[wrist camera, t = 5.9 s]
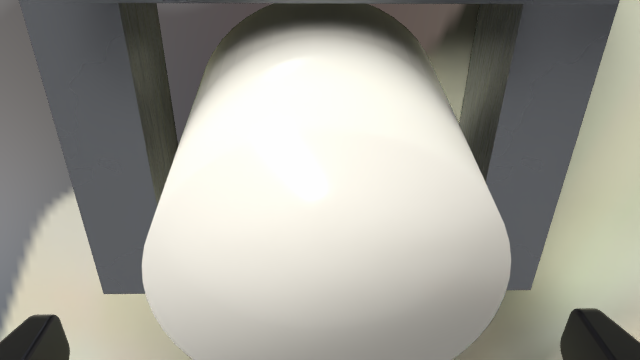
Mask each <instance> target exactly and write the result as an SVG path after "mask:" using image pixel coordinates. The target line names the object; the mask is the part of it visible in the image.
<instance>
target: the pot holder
mask: <svg viewBox="0 0 640 360" xmlns="http://www.w3.org/2000/svg"><path fill="white" fill-rule="evenodd" d="M19 3H20V6H21V9H22V13H23V16H24V20H25V23H26V26H27V30H28V34H29V37H30V41H31V44H32V47H33V51H34V54H35V58H36V61H37V65H38V68H39V72H40V75H41V79H42V82H43V86H44V89H45V92H46V96H47V99H48V103H49V106H50V110H51V113H52V117H53V120H54V124H55V127H56V130H57V134H58V137H59V141H60V144H61V148H62V151H63V155H64V158H65V162H66V165H67V168H68V172H69V175H70V179H71V182H72V186H73V189H74V193H75V196H76V200H77V203H78V207H79V210H80V213H81V217H82V220H83V224H84V227H85V231H86V234H87V238H88V241H89V245H90V248H91V251H92V255H93V258H94V262H95V265H96V269H97V272H98V276H99V279H100V283H101V286H102V290H103V293H104V294H145V290H144V285H143V279H142V258H143V251H144V245H145V242H146V239H147V235H148V232H149V229H150V226H151V223H152V221H153V218H154V215H155V212H156V209H157V206H158V203H159V200H160V198H161V195H162V192H163V189H164V186H165V183H166V180H167V177H168V175H169V172H170V169H171V166H172V163H173V160H174V157H175V154H176V152H177V149H178V142H177V135H176V128H175V122H174V115H173V109H172V102H171V96H170V89H169V83H168V77H167V70H166V63H165V57H164V50H163V44H162V37H161V31H160V24H159V18H158V12H157V5H156V3H367V4H375V3H378V4H379V3H380V4H381V3H382V4H391V3H392V4H396V3H397V4H408V3H409V4H480V6H479V12H478V17H477V23H476V29H475V35H474V41H473V47H472V53H471V59H470V65H469V71H468V77H467V82H466V88H465V94H464V100H463V106H462V112H461V118H460V124H459V125H460V127H461V130H462V132H463V134H464V136H465V138H466V141H467V143H468V145H469V147H470V149H471V152H472V154H473V156H474V158H475V160H476V163H477V165H478V167H479V169H480V171H481V174H482V176H483V178H484V180H485V182H486V185H487V187H488V189H489V191H490V193H491V196H492V198H493V200H494V202H495V204H496V207H497V209H498V211H499V213H500V215H501V218H502V220H503V222H504V224H505V228H506V231H507V235H508V238H509V242H510V252H511V268H510V278H509V282H508V286H507V289H506V290H531V287H532V283H533V280H534V277H535V274H536V270H537V267H538V264H539V261H540V257H541V254H542V251H543V247H544V244H545V241H546V238H547V234H548V231H549V228H550V225H551V221H552V218H553V215H554V212H555V208H556V205H557V202H558V199H559V195H560V192H561V189H562V186H563V182H564V179H565V176H566V173H567V169H568V166H569V163H570V160H571V156H572V153H573V150H574V147H575V143H576V140H577V137H578V134H579V130H580V127H581V124H582V121H583V117H584V114H585V111H586V108H587V104H588V101H589V98H590V94H591V91H592V88H593V85H594V81H595V78H596V75H597V72H598V68H599V65H600V62H601V59H602V55H603V52H604V49H605V46H606V42H607V39H608V36H609V33H610V29H611V26H612V23H613V20H614V16H615V13H616V10H617V7H618V3H619V0H19Z"/></svg>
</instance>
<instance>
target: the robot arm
mask: <svg viewBox="0 0 640 360" xmlns="http://www.w3.org/2000/svg"><path fill="white" fill-rule="evenodd" d="M560 348H561V354H562V357H563V360H640V342H638V341H637V340H636V339H635V338H634V337H632V336H631V335H630V334H629V333H627V332H626V331H625V330H624V329H622V328H621V327H620V326H619V325H617V324H616V323H615V322H614V321H613V320H611V319H610V318H609V317H608V316H606V315H605V314H604V313H603V312H601V311H600V310H598V309H593V308H586V309H574V310H573V311H572V312H571V314H570V316H569V319H568V321H567V324H566V327H565V329H564V332H563V335H562V337H561V342H560ZM69 355H70V348H69V343H68V341H67V338H66V335H65V332H64V330H63V327H62V324H61V321H60V319H59V318H58V317H57V316H56V315H33V316H31V317H29V318H28V319H26V320H25V321H24V322H23V323H22V324H21V325H19V326H18V327H17V328H16V329H15V330H14V331H12V332H11V333H10V334H9V335H8V336H7V337H5V338H4V339H3V340H2V341H1V342H0V360H69Z"/></svg>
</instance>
